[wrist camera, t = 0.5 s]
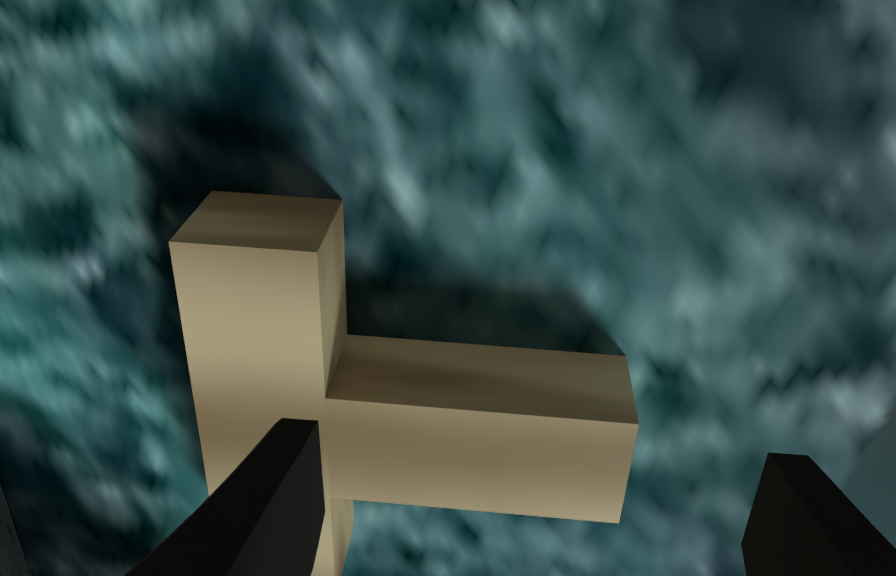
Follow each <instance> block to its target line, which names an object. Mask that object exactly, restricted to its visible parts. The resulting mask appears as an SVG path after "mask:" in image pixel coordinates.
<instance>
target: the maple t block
mask: <svg viewBox="0 0 896 576" xmlns="http://www.w3.org/2000/svg"><path fill="white" fill-rule="evenodd" d="M169 248H170V254H171V260H172V266H173V273H174V279H175V285H176V292H177V298H178V304H179V310H180V317H181V323H182V329H183V335H184V342H185V348H186V354H187V361H188V367H189V373H190V379H191V386H192V392H193V398H194V405H195V411H196V417H197V423H198V430H199V436H200V442H201V449H202V455H203V461H204V467H205V474H206V480H207V486H208V493H209V496H210V495H211V494H212V493H213V492H214V491H215V490H216V489H217V488H218V487H219V486H220V485H221V484H222V483H223V481H224V480H225V479H226V478H227V477H228V476H229V475H230V474H231V473H232V472H233V471H234V470H235V469H236V467H237V466H238V465H239V464H240V463H241V462H242V461H243V460H244V459H245V458H246V456H247V455H248V454H249V453H250V452H251V451H252V450H253V448H254V447H255V446H256V445H257V444H258V443H259V442H260V440H261V439H262V438H263V437H264V436H265V435H266V433H267V432H268V431H269V430H270V429H271V428H272V426H273V425H274V424H275V423H276V422H277V421H278V420H280V419H281V418H291V419H305V420H318V424H319V436H320V449H321V462H322V475H323V487H324V500H325V516H324V520H323V525H322V530H321V535H320V540H319V545H318V549H317V553H316V558H315V562H314V567H313V571H312V574H311V576H341V575H342V571H343V567H344V563H345V558H346V554H347V550H348V546H349V542H350V538H351V534H352V530H353V526H354V516H353V500H363V501H374V502H385V503H396V504H407V505H419V506H430V507H441V508H452V509H464V510H475V511H486V512H497V513H509V514H520V515H531V516H542V517H553V518H565V519H576V520H587V521H598V522H610V523H619V520H620V515H621V510H622V505H623V500H624V495H625V490H626V485H627V481H628V476H629V471H630V466H631V461H632V456H633V451H634V446H635V441H636V436H637V431H638V427H639V422H638V417H637V411H636V406H635V401H634V395H633V390H632V385H631V380H630V374H629V369H628V364H627V358H626V356H618V355H605V354H592V353H580V352H567V351H554V350H541V349H528V348H515V347H502V346H489V345H477V344H464V343H451V342H438V341H425V340H412V339H399V338H387V337H374V336H361V335H348V334H347V309H346V279H345V250H344V220H343V200H340V199H326V198H311V197H296V196H282V195H267V194H252V193H238V192H223V191H211V193H210V194H209V195H208V196H207V197H206V198H205V200H204V201H203V202H202V203H201V204H200V205H199V207H198V208H197V209H196V210H195V211H194V212H193V214H192V215H191V216H190V217H189V218H188V219H187V221H186V222H185V223H184V224H183V225H182V226H181V228H180V229H179V230H178V231H177V232H176V233H175V235H174V236H173V237H172V238H171V239H170V240H169Z"/></svg>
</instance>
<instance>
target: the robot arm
mask: <svg viewBox="0 0 896 576" xmlns="http://www.w3.org/2000/svg"><path fill="white" fill-rule="evenodd" d="M324 516H325V500H324V487H323V475H322V462H321V449H320V436H319V424H318V420H305V419H291V418H281V419H280V420H278V421H277V422H276V423H275V424H274V425H273V426H272V428H271V429H270V430H269V431H268V432H267V433H266V435H265V436H264V437H263V438H262V439H261V440H260V442H259V443H258V444H257V445H256V446H255V447H254V448H253V450H252V451H251V452H250V453H249V454H248V455H247V456H246V458H245V459H244V460H243V461H242V462H241V463H240V464H239V465H238V466H237V467H236V469H235V470H234V471H233V472H232V473H231V474H230V475H229V476H228V477H227V478H226V479H225V480H224V481H223V483H222V484H221V485H220V486H219V487H218V488H217V489H216V490H215V491H214V492H213V493H212V494H211V495H210V496H209V497H208V498H207V499H206V500H205V501H204V502H203V503H202V504H201V506H200V507H199V508H198V509H197V510H196V511H195V512H193V513H192V514H191V515H190V516H189V517H188V518H187V519H186V520H185V521H184V522H183V523H182V524H181V525H180V526H179V527H178V528H177V529H176V530H175V531H173V532H172V533H171V534H170V535H169V536H168V537H167V538H166V539H165V540H164V541H163V542H162V543H161V544H160V545H159V546H158V547H156V548H155V549H154V550H153V551H152V552H151V553H150V554H149V555H147V556H146V557H145V558H144V559H143V560H142V561H140V562H139V563H138V564H137V565H136V566H135V567H133V568H132V569H131V570H130V571H129V572H127V573H126V574H125V575H124V576H311V574H312V571H313V567H314V562H315V558H316V553H317V549H318V545H319V540H320V535H321V530H322V525H323V520H324ZM741 546H742V551H743V557H744V563H745V569H746V575H747V576H896V549H895V548H894V547H893V546H892V545H891V543H890V542H889V541H887V539H886V538H885V537H884V536H883V535H882V534H881V533H880V532H879V531H878V530H877V529H876V528H875V527H874V526H873V525H872V524H871V523H870V522H869V521H868V519H867V518H866V517H865V516H864V515H863V514H862V513H861V512H860V511H859V510H858V509H857V508H856V507H855V505H854V504H853V503H852V502H851V501H850V500H849V499H848V498H847V497H846V496H845V495H844V494H843V493H842V491H841V490H840V489H839V488H838V487H837V486H836V485H835V484H834V483H833V482H832V480H831V479H830V478H829V477H828V476H827V475H826V474H825V473H824V472H823V471H822V470H821V469H820V468H819V466H818V465H817V464H816V463H815V462H814V461H813V460H812V459H811V458H810V457H809V456H808V455H794V454H780V453H768V455H767V459H766V462H765V465H764V469H763V472H762V476H761V479H760V482H759V486H758V489H757V492H756V496H755V499H754V503H753V506H752V509H751V513H750V516H749V519H748V523H747V526H746V530H745V533H744V536H743V540H742V543H741Z"/></svg>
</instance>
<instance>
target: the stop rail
mask: <svg viewBox="0 0 896 576" xmlns="http://www.w3.org/2000/svg"><path fill="white" fill-rule="evenodd" d="M29 574H30V570H29V567H28V564H27V561H26V558H25V555H24V552H23V549H22V546H21V543H20V540H19V537H18V534H17V531H16V528H15V525H14V522H13V519H12V517H11V514H10V511H9V508H8V505H7V502H6V499H5V496H4V493H3V490H2V487H1V484H0V576H28V575H29Z"/></svg>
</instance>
